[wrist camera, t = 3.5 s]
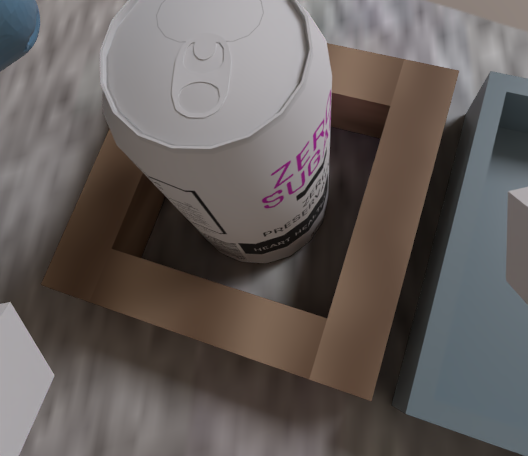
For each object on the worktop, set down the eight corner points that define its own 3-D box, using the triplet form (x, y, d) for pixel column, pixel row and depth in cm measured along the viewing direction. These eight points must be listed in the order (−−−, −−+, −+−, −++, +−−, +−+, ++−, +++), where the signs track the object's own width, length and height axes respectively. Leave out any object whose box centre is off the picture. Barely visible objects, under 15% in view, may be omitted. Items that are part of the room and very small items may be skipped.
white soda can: (203, 140, 31) (101, -49, 17) (330, 142, 30) (337, -58, 16) (189, 261, 29) (59, 164, 15) (325, 268, 28) (328, 170, 14)
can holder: (77, 295, 29) (40, 284, 25) (180, 49, 33) (162, 9, 29) (364, 395, 26) (371, 401, 22) (441, 108, 30) (459, 70, 26)
